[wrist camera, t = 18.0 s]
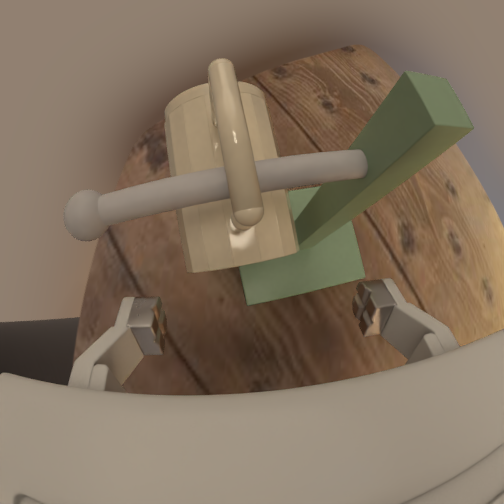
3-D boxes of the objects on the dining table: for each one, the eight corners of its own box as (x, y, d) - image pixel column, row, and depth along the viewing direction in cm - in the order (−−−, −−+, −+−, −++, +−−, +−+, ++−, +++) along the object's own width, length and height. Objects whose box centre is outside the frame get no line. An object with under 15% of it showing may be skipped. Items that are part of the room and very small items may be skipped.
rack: (176, 319, 27) (-1, 372, 4) (159, 220, 28) (24, 60, 6) (359, 278, 28) (561, 230, 6) (335, 188, 30) (466, 35, 7)
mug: (258, 121, 20) (285, 250, 21) (172, 136, 20) (194, 268, 20) (292, 17, 9) (359, 253, 9) (131, 37, 8) (156, 293, 8)
